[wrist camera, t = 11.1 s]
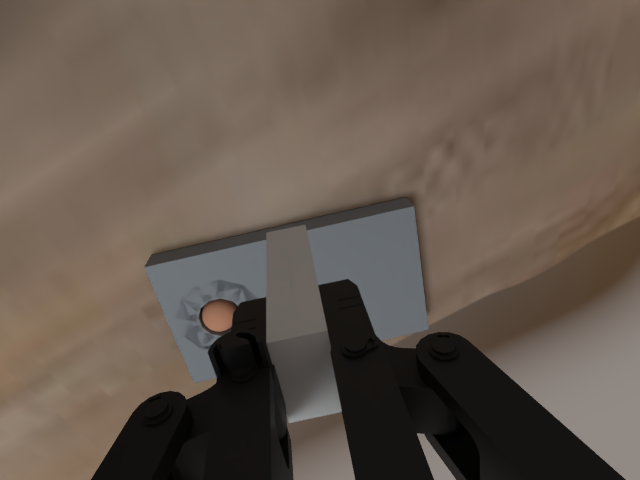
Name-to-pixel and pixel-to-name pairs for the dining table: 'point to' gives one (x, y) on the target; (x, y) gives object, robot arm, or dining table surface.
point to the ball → (218, 314)
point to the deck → (330, 265)
